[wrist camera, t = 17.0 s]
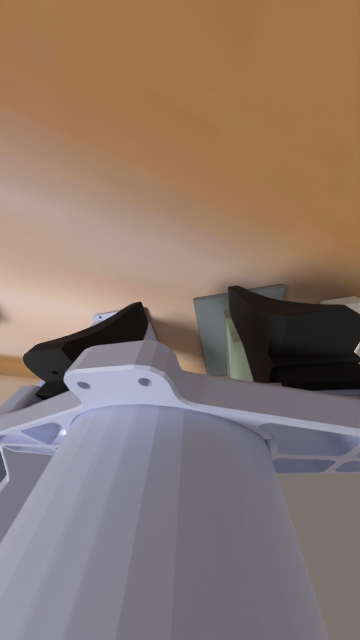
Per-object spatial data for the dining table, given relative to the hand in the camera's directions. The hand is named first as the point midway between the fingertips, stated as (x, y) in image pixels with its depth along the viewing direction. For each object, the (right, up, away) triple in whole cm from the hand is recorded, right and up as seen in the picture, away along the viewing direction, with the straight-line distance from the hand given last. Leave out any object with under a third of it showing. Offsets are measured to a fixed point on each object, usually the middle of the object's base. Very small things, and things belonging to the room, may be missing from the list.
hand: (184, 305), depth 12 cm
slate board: (+9, -4, +14) cm, 17 cm away
